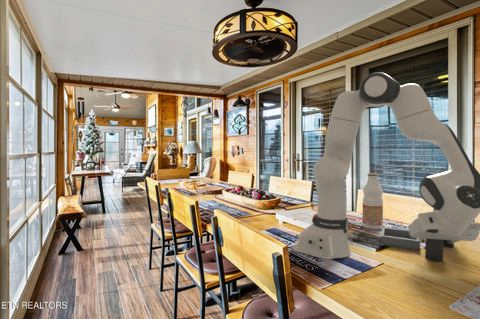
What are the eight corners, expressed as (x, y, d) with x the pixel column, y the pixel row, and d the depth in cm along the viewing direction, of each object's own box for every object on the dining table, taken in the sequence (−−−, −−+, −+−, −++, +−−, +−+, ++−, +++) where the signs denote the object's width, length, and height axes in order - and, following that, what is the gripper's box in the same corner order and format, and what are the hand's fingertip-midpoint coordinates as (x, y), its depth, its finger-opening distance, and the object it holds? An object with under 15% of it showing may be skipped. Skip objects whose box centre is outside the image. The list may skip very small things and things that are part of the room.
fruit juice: (370, 230, 136) (371, 174, 135) (358, 225, 145) (359, 173, 144) (386, 229, 138) (387, 174, 137) (373, 224, 147) (374, 172, 146)
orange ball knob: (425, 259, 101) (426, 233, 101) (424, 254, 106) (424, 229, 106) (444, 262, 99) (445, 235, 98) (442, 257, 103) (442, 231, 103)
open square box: (380, 245, 117) (380, 235, 116) (382, 235, 129) (382, 227, 128) (420, 251, 110) (420, 241, 109) (417, 240, 122) (417, 231, 122)
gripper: (481, 215, 91) (464, 235, 101) (413, 213, 96) (403, 231, 106) (490, 232, 87) (471, 251, 97) (418, 229, 92) (407, 247, 102)
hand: (435, 241), depth 102 cm, fingers open, 8 cm apart
